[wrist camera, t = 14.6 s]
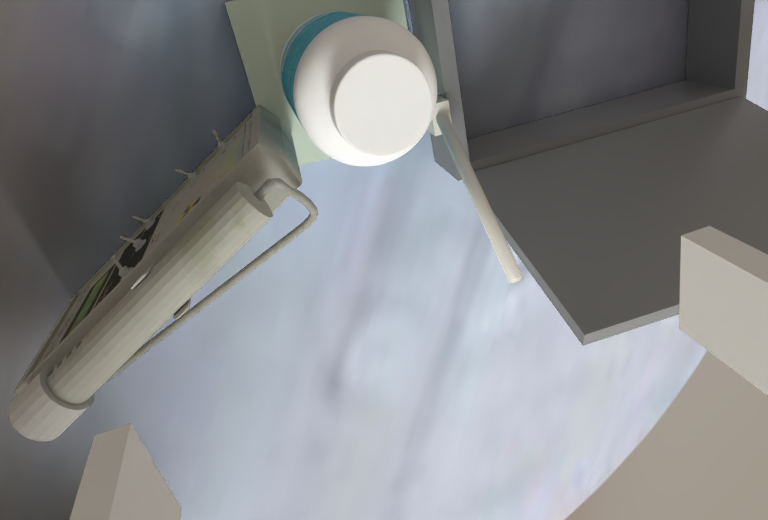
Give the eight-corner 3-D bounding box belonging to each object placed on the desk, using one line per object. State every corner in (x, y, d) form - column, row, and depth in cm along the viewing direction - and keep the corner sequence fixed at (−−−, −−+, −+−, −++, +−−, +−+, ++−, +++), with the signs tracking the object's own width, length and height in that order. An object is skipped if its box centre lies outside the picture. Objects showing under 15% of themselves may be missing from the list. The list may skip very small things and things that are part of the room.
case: (379, -61, 36) (514, -112, 19) (707, -134, 39) (1091, -238, 21) (429, 217, 45) (552, 358, 27) (693, 141, 47) (957, 225, 30)
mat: (224, 2, 35) (224, 2, 35) (394, -37, 37) (396, -37, 36) (275, 170, 40) (275, 172, 40) (423, 130, 42) (425, 132, 41)
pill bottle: (272, 119, 38) (290, 176, 26) (285, 0, 35) (311, 2, 24) (380, 134, 40) (441, 193, 28) (399, 23, 38) (477, 35, 26)
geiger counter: (244, 136, 25) (-99, 489, 29) (346, 230, 27) (20, 540, 31) (249, 88, 37) (10, 339, 41) (319, 156, 40) (88, 385, 44)
